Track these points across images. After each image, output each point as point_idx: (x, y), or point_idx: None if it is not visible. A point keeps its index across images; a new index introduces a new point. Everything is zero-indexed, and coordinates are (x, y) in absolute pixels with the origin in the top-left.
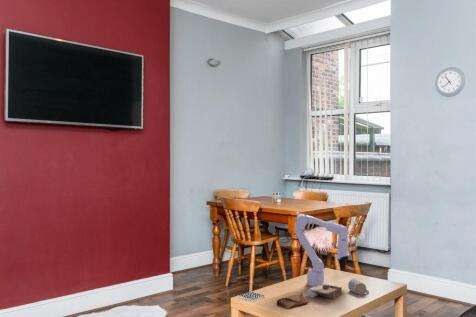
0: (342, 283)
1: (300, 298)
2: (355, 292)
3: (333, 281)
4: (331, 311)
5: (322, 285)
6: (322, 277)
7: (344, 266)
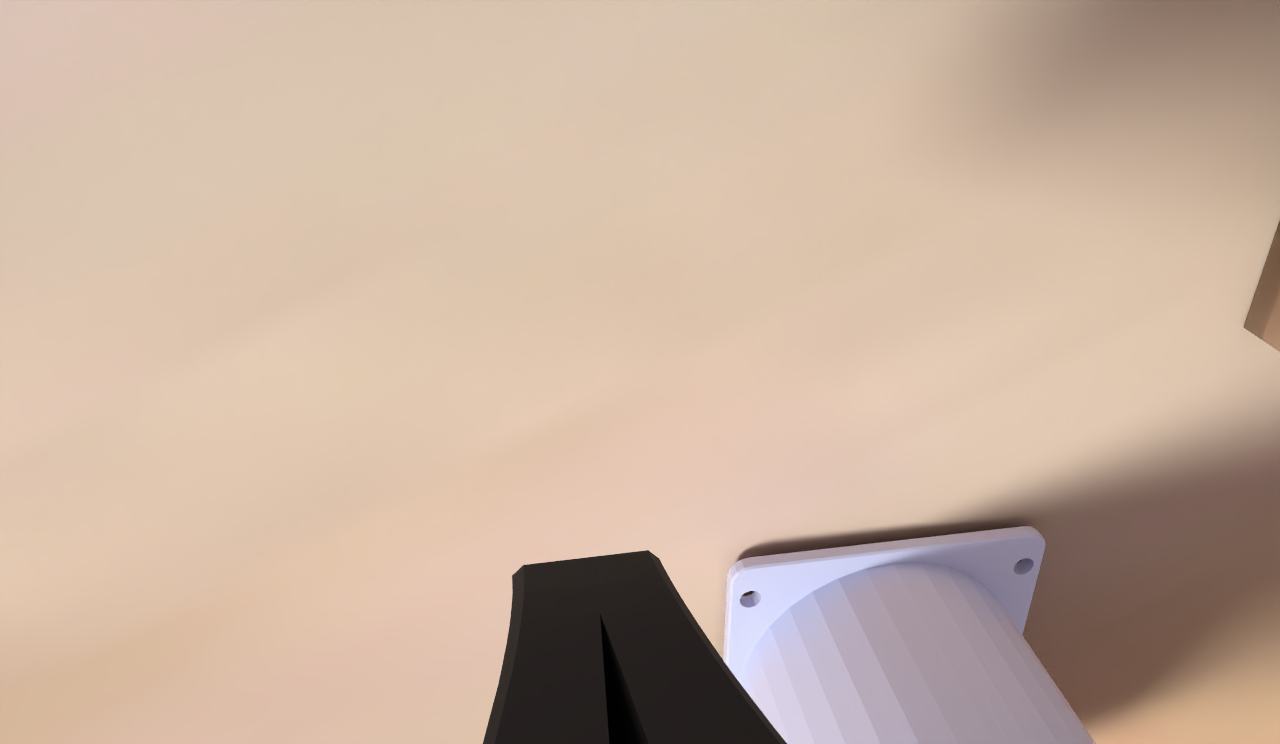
0: (230, 386)
1: None
2: None
3: (275, 617)
4: None
5: (916, 570)
6: (1023, 729)
7: (731, 673)
